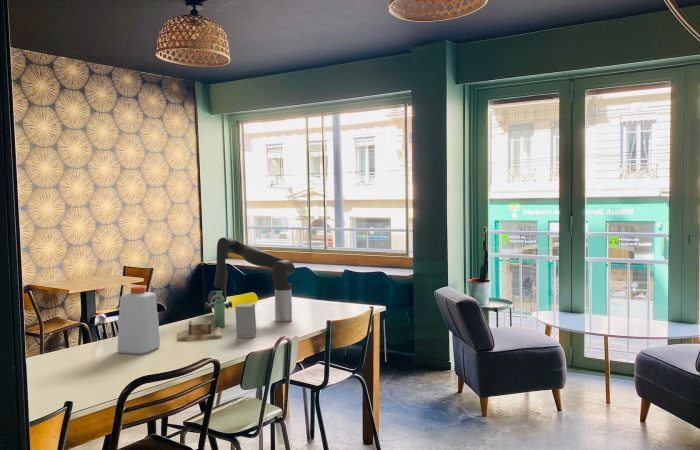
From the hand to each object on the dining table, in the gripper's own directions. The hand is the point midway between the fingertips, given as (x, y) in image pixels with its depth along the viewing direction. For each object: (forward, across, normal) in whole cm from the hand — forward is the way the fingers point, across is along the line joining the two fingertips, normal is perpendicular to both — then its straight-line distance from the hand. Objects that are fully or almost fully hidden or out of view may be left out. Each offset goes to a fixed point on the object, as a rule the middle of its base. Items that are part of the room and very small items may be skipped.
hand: (219, 307), depth 289 cm
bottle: (+4, 0, +10) cm, 10 cm away
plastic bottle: (+41, -36, +10) cm, 55 cm away
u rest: (+20, -10, +10) cm, 24 cm away
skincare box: (+30, +12, +10) cm, 33 cm away
